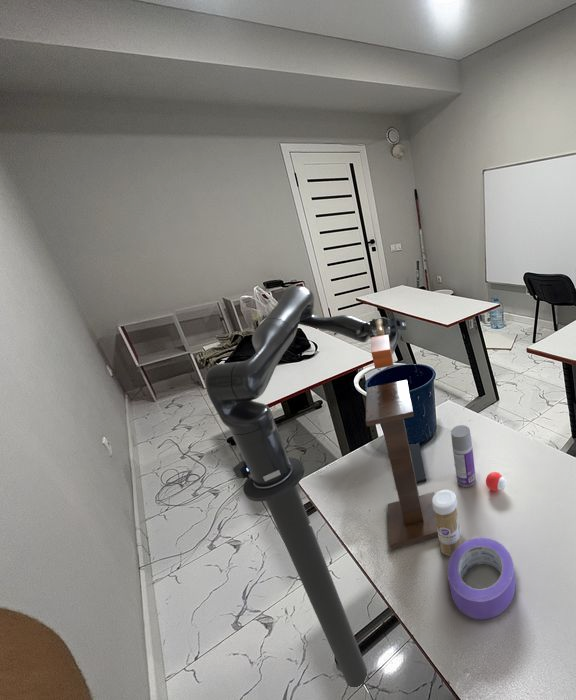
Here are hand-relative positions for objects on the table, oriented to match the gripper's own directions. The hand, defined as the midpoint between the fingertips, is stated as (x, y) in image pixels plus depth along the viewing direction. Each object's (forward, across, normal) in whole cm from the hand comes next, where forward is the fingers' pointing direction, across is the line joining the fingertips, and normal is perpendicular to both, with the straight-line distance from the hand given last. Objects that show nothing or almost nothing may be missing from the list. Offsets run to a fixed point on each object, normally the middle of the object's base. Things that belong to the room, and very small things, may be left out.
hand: (378, 322), depth 85 cm
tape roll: (+18, -10, -55) cm, 59 cm away
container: (-4, -14, -42) cm, 45 cm away
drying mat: (-14, -1, -37) cm, 39 cm away
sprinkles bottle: (+10, -7, -50) cm, 52 cm away
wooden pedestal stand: (+3, 0, -46) cm, 46 cm away
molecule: (0, -20, -44) cm, 49 cm away
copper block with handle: (+4, 0, -6) cm, 7 cm away
